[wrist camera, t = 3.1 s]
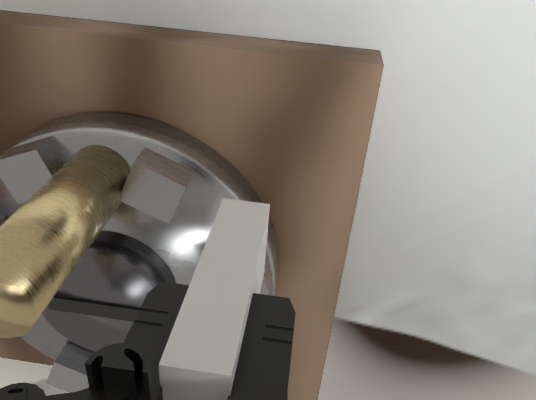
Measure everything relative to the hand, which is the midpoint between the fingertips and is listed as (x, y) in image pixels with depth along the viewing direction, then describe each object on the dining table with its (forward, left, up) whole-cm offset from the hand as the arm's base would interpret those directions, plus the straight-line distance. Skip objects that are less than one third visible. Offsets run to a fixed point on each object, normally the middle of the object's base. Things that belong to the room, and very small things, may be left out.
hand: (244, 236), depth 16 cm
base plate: (+6, +6, -8) cm, 11 cm away
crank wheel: (+6, +6, -5) cm, 10 cm away
